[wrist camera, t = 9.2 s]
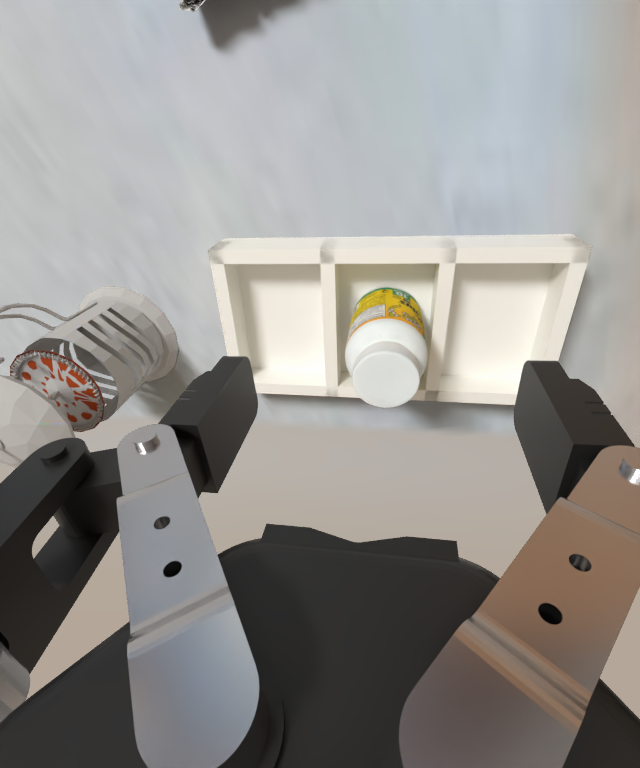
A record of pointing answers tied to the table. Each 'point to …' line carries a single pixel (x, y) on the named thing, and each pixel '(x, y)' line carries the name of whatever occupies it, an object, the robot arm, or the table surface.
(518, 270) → the rack
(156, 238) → the table surface
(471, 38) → the table surface
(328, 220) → the table surface
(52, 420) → the french press
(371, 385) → the supplement bottle
